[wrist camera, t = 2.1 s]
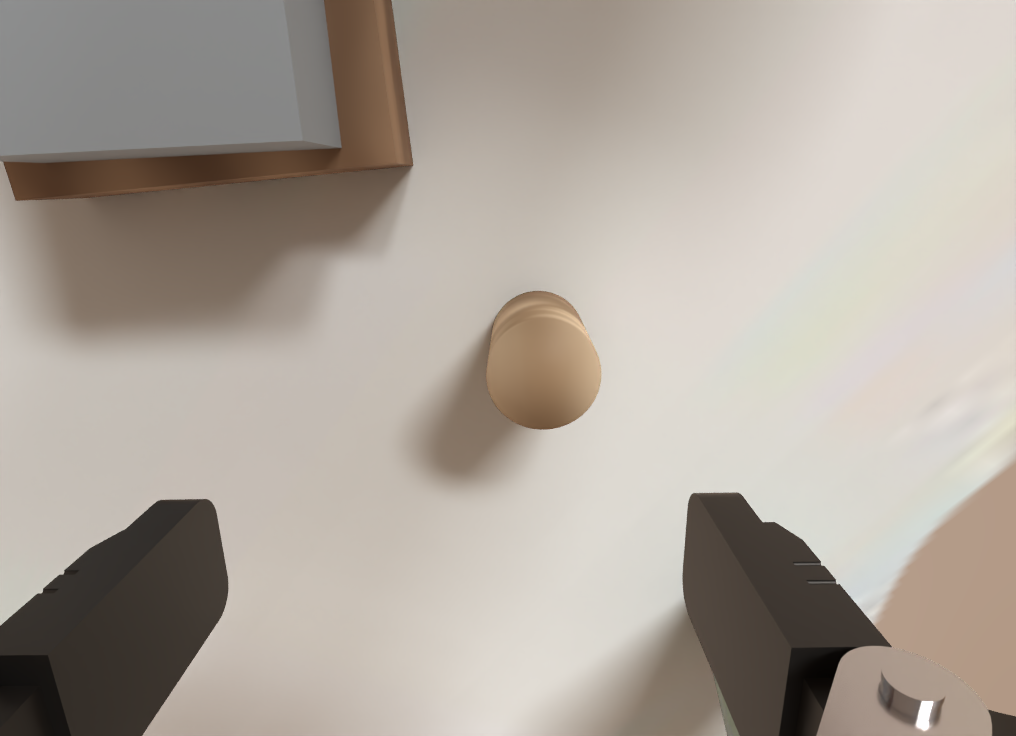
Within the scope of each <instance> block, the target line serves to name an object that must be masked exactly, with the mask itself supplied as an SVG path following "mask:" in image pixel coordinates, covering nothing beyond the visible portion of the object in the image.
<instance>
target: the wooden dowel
mask: <svg viewBox="0 0 1016 736" xmlns="http://www.w3.org/2000/svg"><path fill="white" fill-rule="evenodd" d="M486 381H487V387H488V391H489V394H490V396H491V398H492V400H493V402H494V404H495V405H496V407H497V408H498V409H499V410H500V411H501V413H503V414H504V415H505V416H506V417H507V418H509V419H510V420H512V421H513V422H515V423H517V424H519V425H522V426H524V427H528V428H532V429H553V428H558V427H562V426H564V425H567V424H569V423H571V422H573V421H575V420H576V419H578V418H579V417H580V416H582V415H583V414H584V413H585V412H586V411H587V410H588V408H589V407H590V406H591V405H592V403H593V401H594V400H595V398H596V396H597V393H598V391H599V387H600V382H601V365H600V361H599V357H598V355H597V352H596V350H595V348H594V346H593V344H592V342H591V340H590V338H589V335H588V333H587V331H586V329H585V327H584V325H583V323H582V321H581V319H580V317H579V315H578V313H577V311H576V310H575V309H574V307H573V306H572V305H571V304H570V303H569V302H568V301H566V300H565V299H564V298H562V297H560V296H558V295H556V294H553V293H550V292H544V291H532V292H527V293H523V294H521V295H518V296H516V297H515V298H513V299H511V300H510V301H509V302H508V303H506V304H505V305H504V306H503V307H502V309H501V310H500V312H499V313H498V315H497V317H496V319H495V321H494V325H493V329H492V336H491V342H490V349H489V356H488V363H487V371H486Z"/></svg>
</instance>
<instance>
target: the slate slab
mask: <svg viewBox="0 0 1016 736" xmlns="http://www.w3.org/2000/svg"><path fill="white" fill-rule="evenodd" d="M333 148H342V146H341V138H340V130H339V121H338V113H337V105H336V97H335V88H334V80H333V72H332V63H331V55H330V47H329V38H328V30H327V22H326V14H325V5H324V0H0V161H5V162H30V163H55V162H75V161H95V160H115V159H135V158H154V157H174V156H194V155H214V154H234V153H254V152H273V151H293V150H313V149H333Z"/></svg>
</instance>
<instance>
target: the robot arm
mask: <svg viewBox="0 0 1016 736" xmlns="http://www.w3.org/2000/svg"><path fill="white" fill-rule="evenodd" d="M64 571H65V572H64V575H59V576H57V577H56V578H55V579H54V580H53V581H52V582H50V583H49V584H48V585H47V586H46V587H45V588H43V593H42V594H37V595H35V596H34V597H33V598H32V599H31V600H30V601H28V602H27V603H26V604H25V605H24V606H23V607H21V608H20V609H19V610H18V611H17V612H16V613H15V614H13V615H12V616H11V617H10V618H9V619H8V620H6V621H5V622H4V623H3V624H2V625H1V626H0V736H142V735H143V733H144V732H145V730H146V729H147V727H148V726H149V724H150V723H151V721H152V720H153V718H154V717H155V715H156V714H157V712H158V711H159V709H160V708H161V706H162V705H163V703H164V702H165V700H166V699H167V697H168V696H169V694H170V693H171V691H172V690H173V689H174V687H175V686H176V684H177V683H178V681H179V680H180V678H181V677H182V675H183V674H184V672H185V671H186V669H187V668H188V666H189V665H190V663H191V662H192V660H193V659H194V657H195V656H196V654H197V653H198V651H199V650H200V648H201V647H202V645H203V644H204V642H205V641H206V639H207V638H208V636H209V635H210V633H211V632H212V630H213V629H214V627H215V626H216V624H217V623H218V621H219V619H220V618H221V616H222V614H223V611H224V609H225V605H226V601H227V596H228V576H227V570H226V564H225V559H224V553H223V547H222V542H221V536H220V530H219V524H218V519H217V513H216V510H215V507H214V505H213V504H212V502H211V501H209V500H207V499H185V500H160V501H157V502H156V503H154V504H153V505H152V506H151V507H150V508H149V509H148V510H147V511H145V512H144V513H143V514H142V515H141V516H140V517H139V518H138V519H136V520H135V521H134V522H133V523H132V524H131V525H130V526H129V527H128V528H126V529H125V530H123V531H121V532H119V533H117V534H116V535H114V536H112V537H110V538H108V539H106V540H105V541H103V542H101V543H99V544H97V545H95V546H94V547H92V548H90V549H89V550H87V551H86V552H85V553H84V554H83V555H82V556H81V557H79V558H78V559H77V560H76V561H75V562H74V563H72V564H71V565H70V566H69V567H68V568H67V569H65V570H64ZM683 592H684V599H685V604H686V608H687V611H688V614H689V617H690V619H691V621H692V624H693V626H694V629H695V631H696V633H697V636H698V638H699V640H700V643H701V645H702V648H703V650H704V652H705V655H706V657H707V659H708V662H709V664H710V667H711V669H712V671H713V674H714V676H715V678H716V681H717V683H718V686H719V688H720V690H721V693H722V695H723V697H724V700H725V702H726V705H727V707H728V709H729V712H730V714H731V716H732V719H733V721H734V724H735V726H736V728H737V731H738V733H739V735H740V736H1016V717H1015V716H1011V715H1006V714H1002V713H998V712H994V711H991V710H988V709H987V707H986V706H985V704H984V703H983V701H982V700H981V698H980V697H979V696H978V695H977V694H976V692H975V691H974V690H973V689H972V688H971V687H970V686H969V685H967V684H966V683H965V682H964V681H963V680H962V679H960V678H959V677H958V676H956V675H955V674H954V673H952V672H950V671H949V670H947V669H946V668H944V667H943V666H941V665H939V664H937V663H935V662H933V661H931V660H929V659H927V658H924V657H922V656H920V655H917V654H914V653H911V652H908V651H905V650H901V649H897V648H892V646H891V645H890V644H889V643H888V642H887V640H886V639H885V638H884V637H883V636H882V634H881V633H880V632H879V631H878V630H877V629H876V627H875V626H874V625H873V624H872V622H871V621H870V620H869V619H868V618H867V616H866V615H865V614H864V613H863V612H862V611H861V609H860V608H859V607H858V606H857V605H856V603H855V602H854V601H853V600H852V599H851V597H850V596H849V595H848V594H847V593H846V591H845V590H844V589H843V588H842V587H841V585H840V584H836V579H835V578H834V577H833V576H832V575H831V573H830V572H829V571H828V570H827V569H826V567H825V566H821V561H820V560H819V559H818V558H817V557H816V555H815V554H814V553H813V552H812V551H811V549H810V548H809V547H808V546H807V545H806V543H805V542H804V541H803V540H802V539H800V538H799V537H797V536H796V535H794V534H793V533H791V532H789V531H788V530H786V529H785V528H783V527H782V526H780V525H778V524H777V523H775V522H762V521H761V520H760V519H759V517H758V516H757V515H756V513H755V512H754V511H753V509H752V508H751V507H750V505H749V504H748V503H747V501H746V500H745V499H744V497H743V496H742V495H741V494H739V493H693V494H692V495H691V497H690V499H689V503H688V511H687V524H686V537H685V550H684V563H683Z"/></svg>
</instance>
